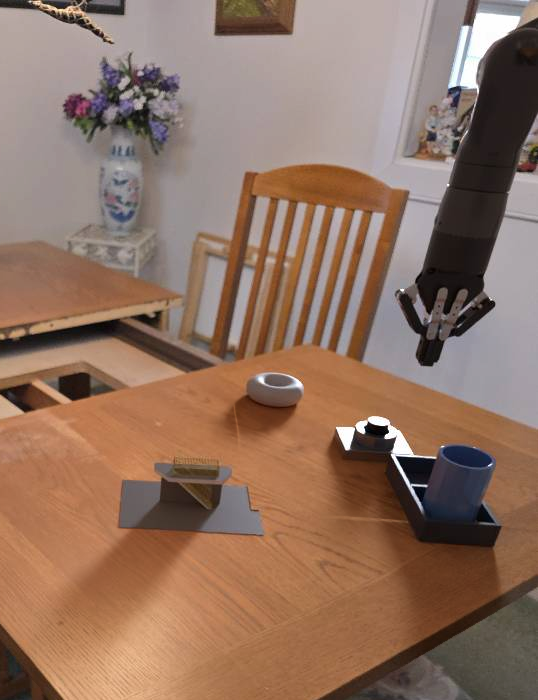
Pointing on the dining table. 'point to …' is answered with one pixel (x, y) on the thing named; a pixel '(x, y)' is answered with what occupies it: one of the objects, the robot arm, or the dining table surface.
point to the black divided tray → (410, 488)
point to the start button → (377, 426)
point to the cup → (458, 483)
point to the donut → (275, 389)
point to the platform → (189, 500)
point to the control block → (369, 444)
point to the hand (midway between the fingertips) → (425, 364)
